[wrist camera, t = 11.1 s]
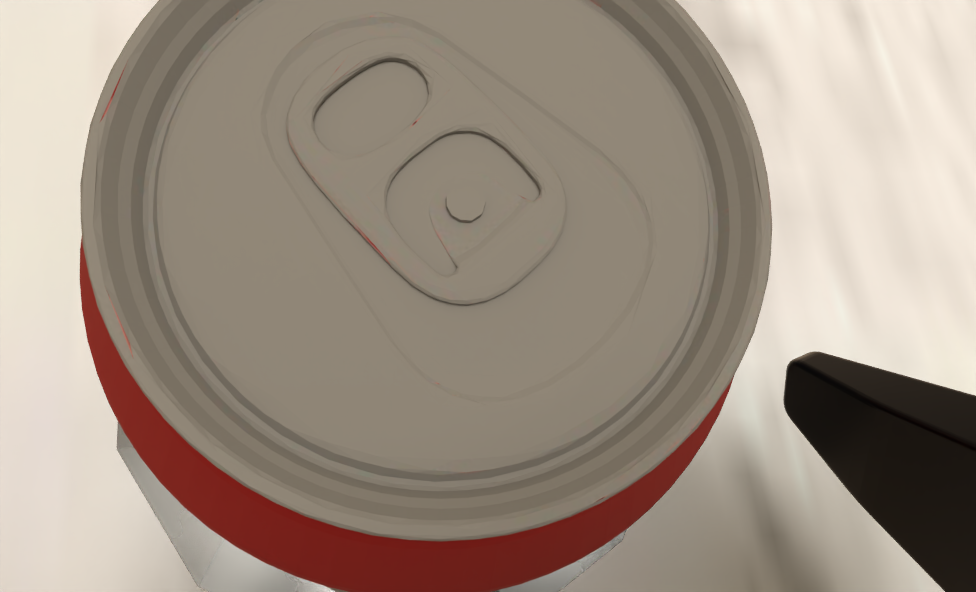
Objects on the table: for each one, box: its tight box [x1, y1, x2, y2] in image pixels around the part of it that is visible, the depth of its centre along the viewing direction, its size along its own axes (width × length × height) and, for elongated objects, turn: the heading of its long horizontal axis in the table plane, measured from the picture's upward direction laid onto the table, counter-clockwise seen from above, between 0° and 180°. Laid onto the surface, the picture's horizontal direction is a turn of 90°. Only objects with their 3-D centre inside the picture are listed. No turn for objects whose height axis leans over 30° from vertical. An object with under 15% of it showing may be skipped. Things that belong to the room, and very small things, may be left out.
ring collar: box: [117, 422, 627, 592], centre depth 16 cm, size 12×12×2 cm
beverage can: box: [80, 0, 772, 592], centre depth 11 cm, size 7×7×12 cm
